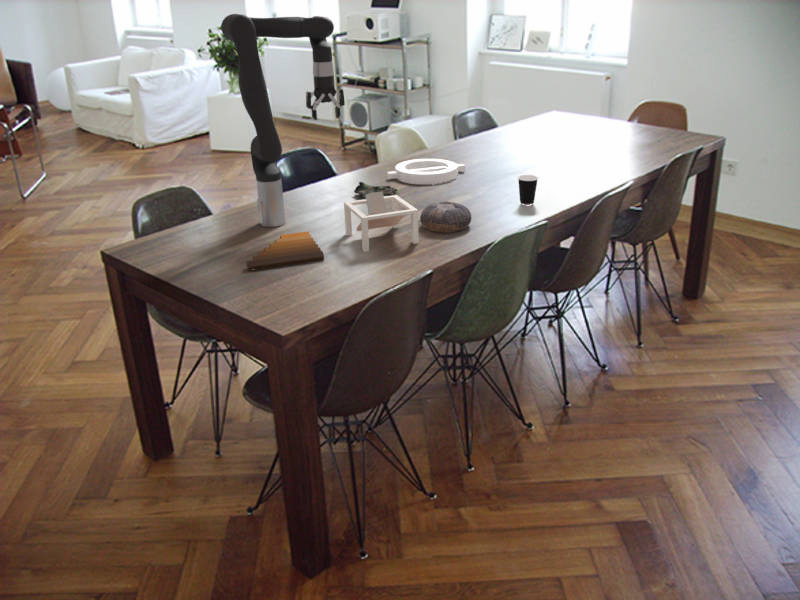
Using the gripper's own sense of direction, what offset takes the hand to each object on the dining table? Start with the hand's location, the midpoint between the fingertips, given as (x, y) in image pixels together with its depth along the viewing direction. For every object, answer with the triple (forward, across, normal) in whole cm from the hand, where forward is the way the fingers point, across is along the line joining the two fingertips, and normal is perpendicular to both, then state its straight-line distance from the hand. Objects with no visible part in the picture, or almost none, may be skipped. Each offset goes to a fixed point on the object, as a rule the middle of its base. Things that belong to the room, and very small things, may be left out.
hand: (326, 118), depth 291 cm
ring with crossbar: (+37, +54, +31) cm, 72 cm away
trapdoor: (+29, +6, -41) cm, 51 cm away
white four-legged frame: (+36, +6, -39) cm, 53 cm away
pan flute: (+37, -30, -38) cm, 61 cm away
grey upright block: (+30, +6, -36) cm, 48 cm away
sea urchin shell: (+36, +32, -37) cm, 61 cm away
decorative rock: (+37, +24, +13) cm, 46 cm away
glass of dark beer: (+36, +72, -27) cm, 85 cm away
